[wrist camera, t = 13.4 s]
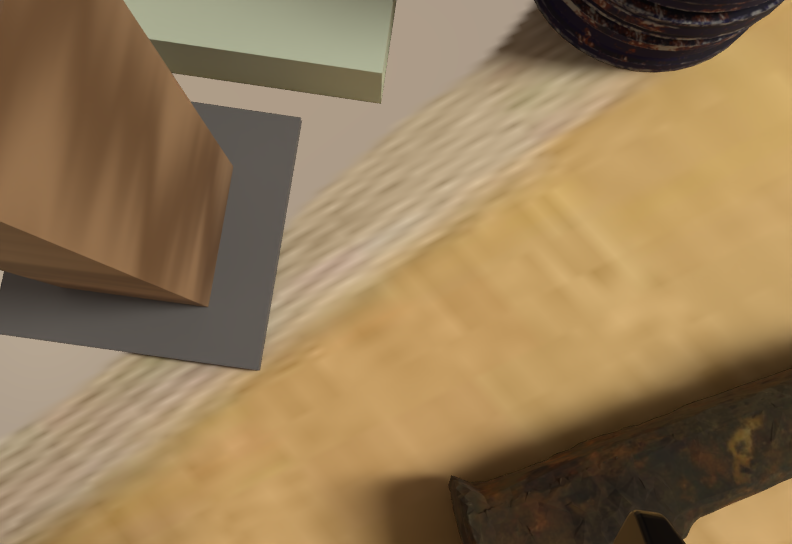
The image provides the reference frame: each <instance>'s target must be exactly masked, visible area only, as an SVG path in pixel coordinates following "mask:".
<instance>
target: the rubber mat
mask: <svg viewBox="0 0 792 544" xmlns="http://www.w3.org/2000/svg"><path fill="white" fill-rule="evenodd" d="M191 103H192V105H193V106H194V108H195V109H196V111H197V112H198V114H199V115H200V117H201V119H202V120H203V122H204V123H205V125H206V126H207V128H208V129H209V131H210V132H211V134H212V135H213V137H214V138H215V140H216V141H217V143H218V144H219V146H220V147H221V149H222V150H223V152H224V153H225V155H226V156H227V158H228V159H229V161H230V162H231V164H232V165H233V171H232V177H231V182H230V188H229V194H228V199H227V205H226V211H225V216H224V222H223V228H222V233H221V239H220V244H219V250H218V256H217V261H216V267H215V273H214V278H213V284H212V289H211V295H210V301H209V306H208V307H203V306H196V305H188V304H181V303H174V302H166V301H159V300H151V299H144V298H137V297H129V296H122V295H115V294H107V293H100V292H93V291H85V290H78V289H71V288H63V287H59V286H55V285H51V284H48V283H44V282H41V281H37V280H34V279H30V278H27V277H23V276H19V275H16V274H12V273H9V272H5V271H4V274H3V279H2V283H1V288H0V334H2V335H9V336H16V337H24V338H30V339H31V338H32V339H38V340H45V341H52V342H59V343H66V344H74V345H81V346H88V347H95V348H102V349H109V350H116V351H123V352H130V353H138V354H145V355H152V356H159V357H166V358H173V359H180V360H188V361H195V362H202V363H209V364H216V365H223V366H230V367H238V368H245V369H252V370H260V366H261V360H262V354H263V349H264V343H265V337H266V331H267V325H268V319H269V313H270V307H271V301H272V295H273V289H274V283H275V277H276V271H277V265H278V260H279V254H280V248H281V242H282V236H283V230H284V224H285V218H286V212H287V206H288V200H289V194H290V188H291V182H292V176H293V170H294V165H295V159H296V153H297V147H298V141H299V135H300V129H301V123H302V121H301V118H300V117H293V116H286V115H279V114H272V113H265V112H259V111H252V110H245V109H238V108H231V107H224V106H218V105H211V104H204V103H197V102H191Z"/></svg>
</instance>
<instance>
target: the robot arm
mask: <svg viewBox="0 0 792 544" xmlns="http://www.w3.org/2000/svg"><path fill="white" fill-rule="evenodd" d="M613 544H686V543H685V542H684V541H683V539H682V538H681V537H680V535H679V534H678V533H677V531H676V530H675V529H674V527H673V526H672V525H671V523H670V522H669V521H668V520H667V518H665V517H664V516H663V515H661V514H659V513H656V512H649V511H641V510H634V511H632V512H630V513H629V515H628V516H627V518H626V520H625V522H624V524H623V525H622V527H621V529H620V531H619V532H618V534H617V536H616V538H615V540H614V542H613Z"/></svg>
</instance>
